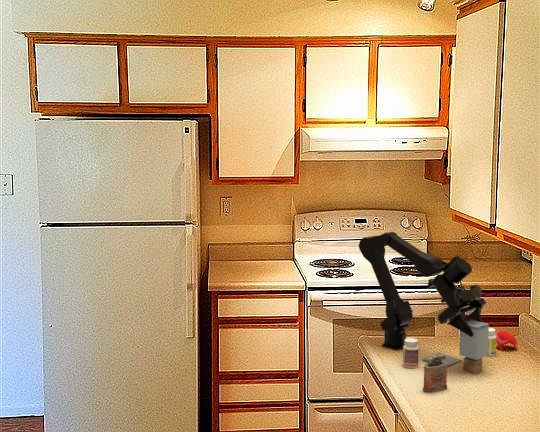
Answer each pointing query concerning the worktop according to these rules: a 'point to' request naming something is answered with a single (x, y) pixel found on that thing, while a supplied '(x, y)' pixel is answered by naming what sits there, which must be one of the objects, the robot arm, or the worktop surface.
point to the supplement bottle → (491, 342)
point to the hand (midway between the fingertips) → (478, 333)
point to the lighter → (435, 374)
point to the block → (472, 365)
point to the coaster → (449, 359)
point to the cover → (475, 340)
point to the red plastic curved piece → (505, 339)
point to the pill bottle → (410, 353)
